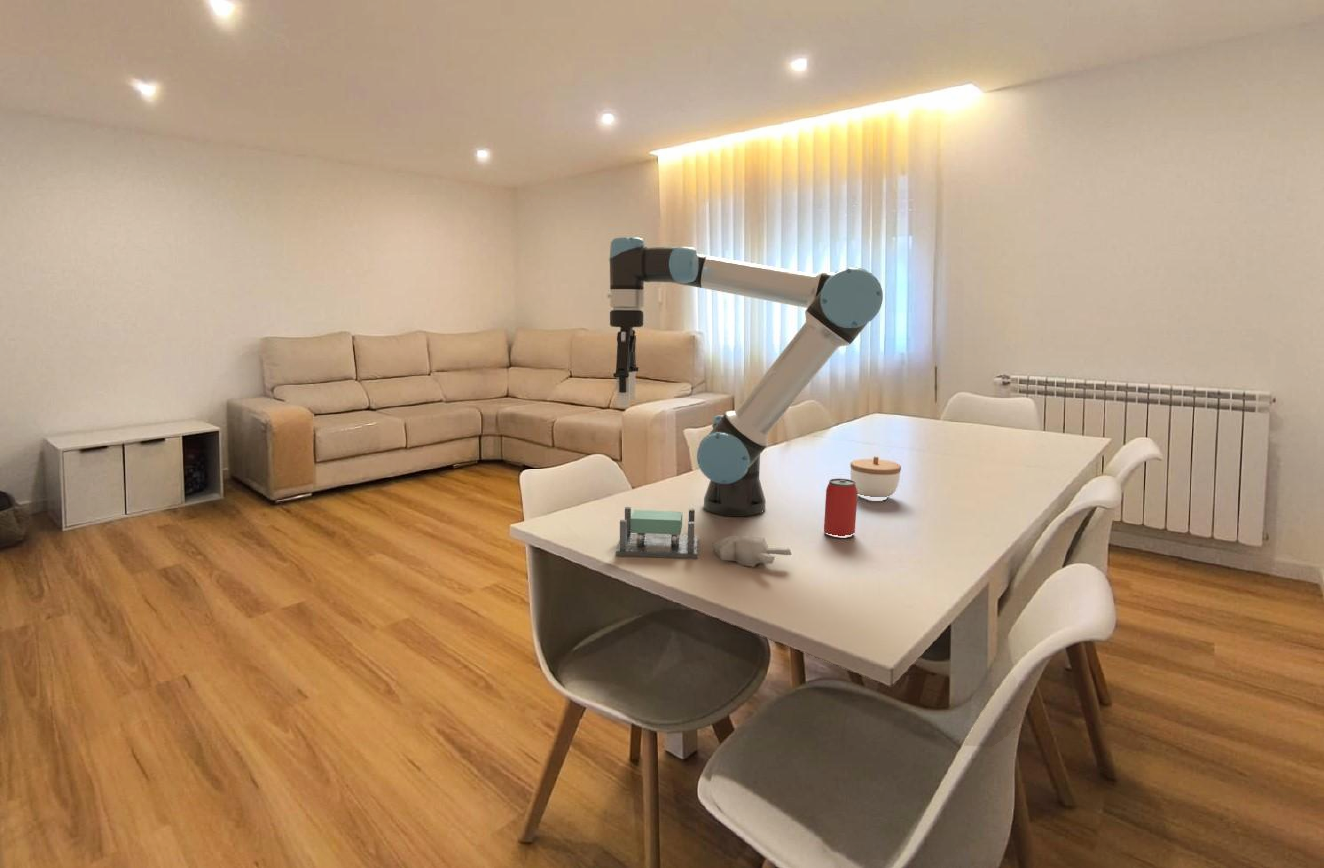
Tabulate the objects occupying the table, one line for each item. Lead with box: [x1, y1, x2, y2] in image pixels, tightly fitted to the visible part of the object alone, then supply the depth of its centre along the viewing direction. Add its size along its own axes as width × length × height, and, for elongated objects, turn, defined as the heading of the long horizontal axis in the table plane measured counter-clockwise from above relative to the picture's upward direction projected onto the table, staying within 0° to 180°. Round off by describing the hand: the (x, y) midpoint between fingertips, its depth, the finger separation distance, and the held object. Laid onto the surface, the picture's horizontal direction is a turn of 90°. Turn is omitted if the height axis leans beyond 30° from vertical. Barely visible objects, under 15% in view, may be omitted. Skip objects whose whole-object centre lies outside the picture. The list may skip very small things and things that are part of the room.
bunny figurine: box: [712, 534, 792, 567], centre depth 131 cm, size 10×5×15 cm
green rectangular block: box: [630, 509, 683, 535], centre depth 138 cm, size 10×6×3 cm, turn 85°
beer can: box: [823, 477, 858, 536], centre depth 148 cm, size 7×7×12 cm
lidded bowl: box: [849, 455, 902, 497], centre depth 177 cm, size 13×13×11 cm
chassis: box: [615, 506, 698, 560], centre depth 138 cm, size 16×11×7 cm
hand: (626, 403), depth 156 cm, fingers open, 13 cm apart
